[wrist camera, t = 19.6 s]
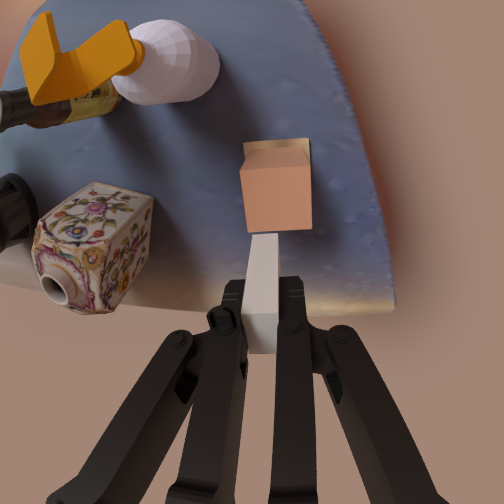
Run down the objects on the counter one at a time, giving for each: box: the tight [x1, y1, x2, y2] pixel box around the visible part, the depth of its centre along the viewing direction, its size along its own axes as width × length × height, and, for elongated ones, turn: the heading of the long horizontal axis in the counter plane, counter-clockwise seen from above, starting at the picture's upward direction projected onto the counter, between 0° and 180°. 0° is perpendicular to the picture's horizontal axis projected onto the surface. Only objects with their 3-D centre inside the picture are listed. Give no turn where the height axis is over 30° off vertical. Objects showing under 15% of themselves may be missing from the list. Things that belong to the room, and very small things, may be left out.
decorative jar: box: [31, 182, 154, 315], centre depth 32 cm, size 12×12×18 cm
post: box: [243, 138, 312, 199], centre depth 30 cm, size 8×8×7 cm
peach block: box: [240, 147, 312, 232], centre depth 29 cm, size 6×6×10 cm
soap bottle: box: [20, 11, 220, 106], centre depth 17 cm, size 9×9×25 cm
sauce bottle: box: [0, 79, 123, 133], centre depth 21 cm, size 6×6×20 cm
